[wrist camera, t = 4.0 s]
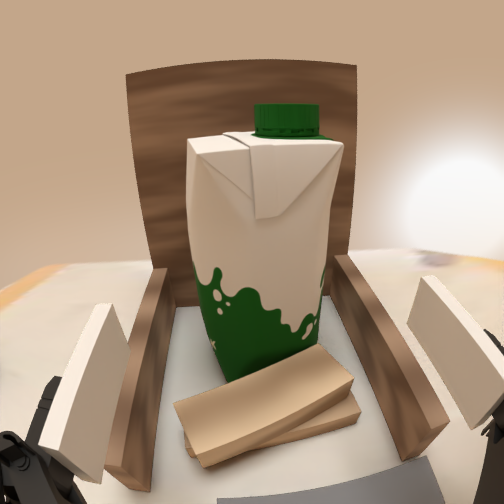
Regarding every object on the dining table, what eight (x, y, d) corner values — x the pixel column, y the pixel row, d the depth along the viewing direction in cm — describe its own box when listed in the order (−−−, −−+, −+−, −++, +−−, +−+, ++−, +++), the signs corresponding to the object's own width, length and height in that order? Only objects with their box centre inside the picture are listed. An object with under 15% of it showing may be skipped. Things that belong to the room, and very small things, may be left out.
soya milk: (328, 375, 23) (360, 106, 13) (220, 403, 21) (177, 109, 11) (291, 312, 30) (294, 103, 21) (203, 330, 28) (174, 110, 19)
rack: (419, 454, 15) (565, 54, 3) (129, 488, 14) (-75, 57, 2) (337, 285, 34) (350, 66, 23) (165, 299, 33) (130, 75, 22)
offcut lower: (353, 426, 19) (361, 411, 17) (192, 460, 17) (185, 448, 16) (335, 388, 22) (340, 371, 21) (188, 416, 20) (181, 400, 19)
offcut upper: (347, 397, 19) (354, 377, 17) (203, 468, 14) (195, 454, 13) (315, 364, 22) (318, 343, 21) (180, 421, 17) (172, 403, 16)
